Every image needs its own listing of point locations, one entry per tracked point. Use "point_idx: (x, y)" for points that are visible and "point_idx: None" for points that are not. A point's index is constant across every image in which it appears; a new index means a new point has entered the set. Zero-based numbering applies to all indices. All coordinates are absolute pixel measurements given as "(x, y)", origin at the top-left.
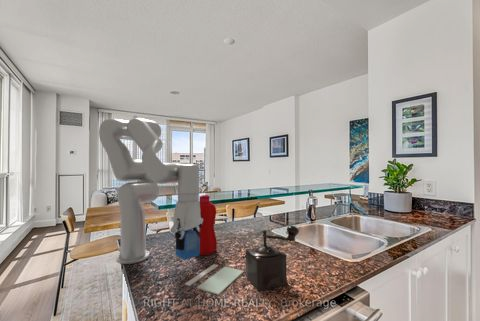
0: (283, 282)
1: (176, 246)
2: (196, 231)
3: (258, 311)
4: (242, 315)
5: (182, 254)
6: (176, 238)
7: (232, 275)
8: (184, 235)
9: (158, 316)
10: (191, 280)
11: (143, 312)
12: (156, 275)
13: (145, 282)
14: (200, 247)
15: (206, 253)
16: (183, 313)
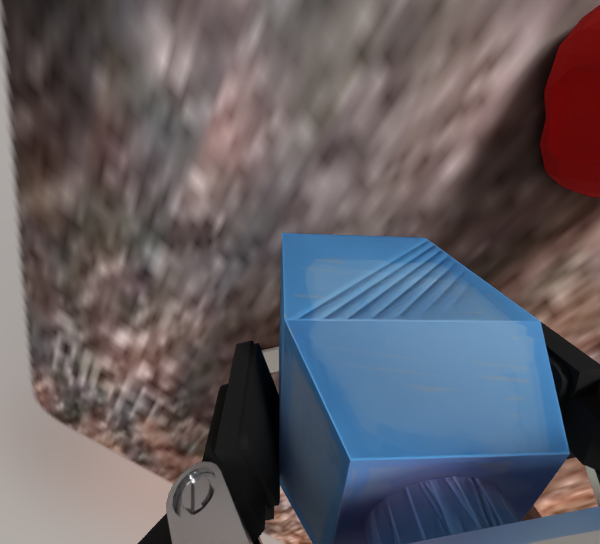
0: None
1: (220, 391)
2: (576, 456)
3: (304, 541)
4: (268, 532)
5: (279, 347)
6: (199, 479)
7: None
8: (313, 521)
9: (86, 436)
10: (274, 355)
11: (44, 397)
12: (165, 172)
13: (87, 204)
14: (596, 127)
15: (557, 180)
16: (155, 464)
